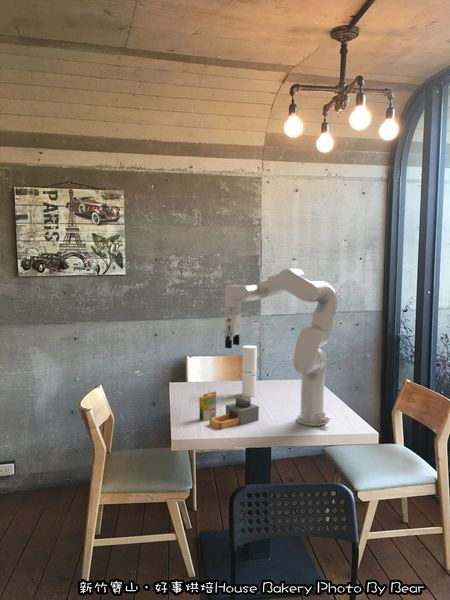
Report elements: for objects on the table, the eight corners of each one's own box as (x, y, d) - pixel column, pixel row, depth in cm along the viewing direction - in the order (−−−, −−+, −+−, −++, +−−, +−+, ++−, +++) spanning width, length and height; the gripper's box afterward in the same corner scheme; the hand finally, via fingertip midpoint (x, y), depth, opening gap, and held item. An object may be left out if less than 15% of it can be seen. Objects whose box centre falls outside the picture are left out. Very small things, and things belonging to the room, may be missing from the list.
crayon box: (212, 415, 198) (212, 389, 197) (216, 417, 196) (216, 391, 195) (198, 419, 194) (199, 392, 193) (203, 421, 191) (203, 394, 190)
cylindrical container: (241, 392, 234) (242, 345, 232) (254, 392, 234) (255, 345, 232) (242, 397, 227) (243, 348, 225) (256, 396, 227) (257, 348, 225)
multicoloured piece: (258, 420, 194) (258, 399, 193) (222, 430, 181) (222, 408, 180) (242, 413, 201) (243, 394, 200) (207, 423, 189) (207, 402, 188)
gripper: (233, 312, 204) (232, 350, 206) (246, 309, 220) (245, 344, 221) (218, 312, 207) (217, 348, 208) (232, 308, 223) (231, 342, 224)
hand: (232, 346), depth 215 cm, fingers open, 9 cm apart
